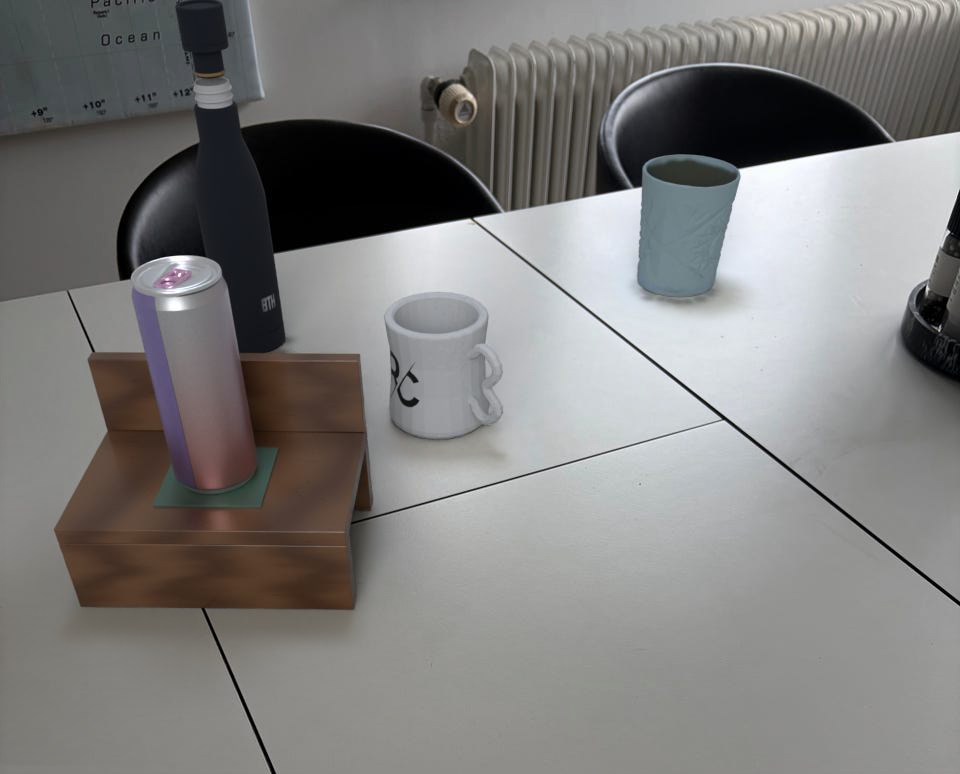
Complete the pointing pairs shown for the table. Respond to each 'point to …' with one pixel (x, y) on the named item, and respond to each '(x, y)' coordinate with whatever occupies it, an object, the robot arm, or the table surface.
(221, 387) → the beverage can
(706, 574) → the table surface
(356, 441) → the shelf
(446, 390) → the mug
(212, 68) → the dark bottle
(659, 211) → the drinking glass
